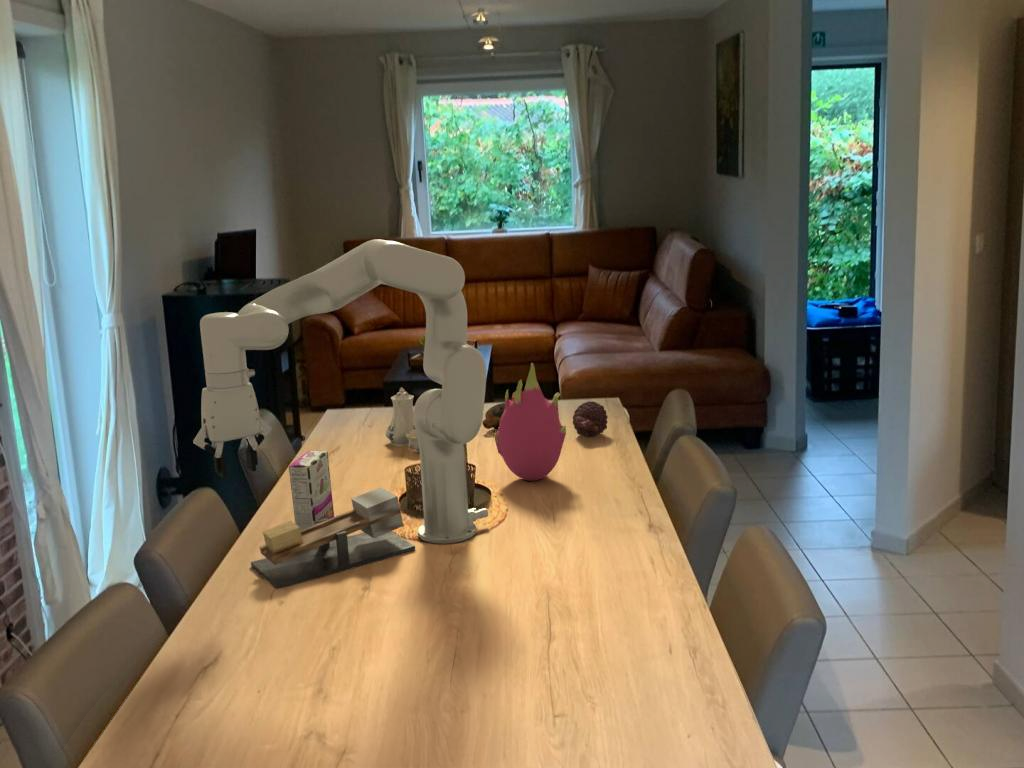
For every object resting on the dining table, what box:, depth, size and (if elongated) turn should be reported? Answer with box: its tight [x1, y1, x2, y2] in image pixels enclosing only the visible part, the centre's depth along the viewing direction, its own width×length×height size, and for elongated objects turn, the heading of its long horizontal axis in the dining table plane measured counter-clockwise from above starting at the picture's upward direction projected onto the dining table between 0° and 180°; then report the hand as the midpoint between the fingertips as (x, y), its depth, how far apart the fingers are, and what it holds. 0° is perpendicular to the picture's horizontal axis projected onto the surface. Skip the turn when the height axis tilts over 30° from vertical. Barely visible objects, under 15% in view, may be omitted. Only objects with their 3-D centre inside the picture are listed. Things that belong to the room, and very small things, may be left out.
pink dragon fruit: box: [494, 362, 567, 482], centre depth 248 cm, size 18×14×30 cm
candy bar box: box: [288, 449, 335, 531], centre depth 222 cm, size 11×5×16 cm, turn 168°
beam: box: [259, 486, 404, 565], centre depth 205 cm, size 28×8×7 cm, turn 124°
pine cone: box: [572, 400, 609, 439], centre depth 286 cm, size 18×10×10 cm, turn 178°
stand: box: [250, 518, 416, 590], centre depth 206 cm, size 30×14×7 cm, turn 124°
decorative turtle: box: [481, 402, 505, 430], centre depth 297 cm, size 10×15×8 cm, turn 137°
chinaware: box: [385, 387, 420, 454], centre depth 286 cm, size 28×17×17 cm, turn 179°
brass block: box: [262, 520, 303, 556], centre depth 199 cm, size 6×4×4 cm
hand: (237, 471), depth 192 cm, fingers open, 5 cm apart
